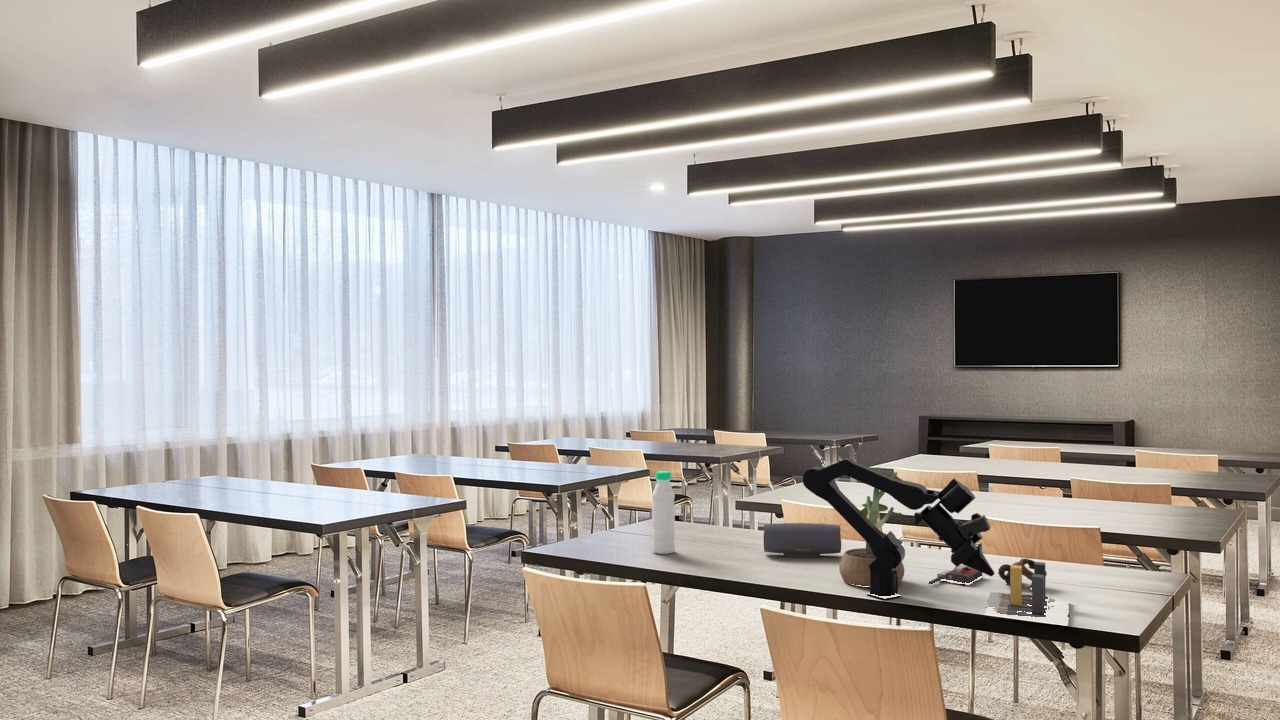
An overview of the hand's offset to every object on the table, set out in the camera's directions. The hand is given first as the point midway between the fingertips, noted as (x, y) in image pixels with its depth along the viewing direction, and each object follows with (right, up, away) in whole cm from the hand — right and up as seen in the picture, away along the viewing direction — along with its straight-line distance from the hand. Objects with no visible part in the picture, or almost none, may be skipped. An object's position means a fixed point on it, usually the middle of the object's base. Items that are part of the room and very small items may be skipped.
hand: (993, 574), depth 224 cm
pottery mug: (+15, -8, +20) cm, 26 cm away
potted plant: (-21, -8, +28) cm, 36 cm away
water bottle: (-78, -8, +64) cm, 101 cm away
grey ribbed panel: (+7, -8, -3) cm, 11 cm away
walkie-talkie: (0, -8, +25) cm, 27 cm away
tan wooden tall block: (+5, -7, -2) cm, 8 cm away
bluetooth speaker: (-36, -8, +59) cm, 69 cm away
